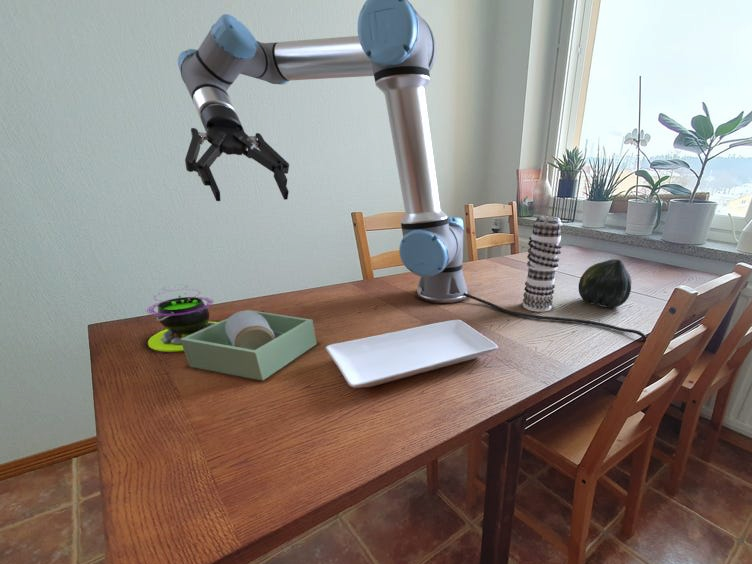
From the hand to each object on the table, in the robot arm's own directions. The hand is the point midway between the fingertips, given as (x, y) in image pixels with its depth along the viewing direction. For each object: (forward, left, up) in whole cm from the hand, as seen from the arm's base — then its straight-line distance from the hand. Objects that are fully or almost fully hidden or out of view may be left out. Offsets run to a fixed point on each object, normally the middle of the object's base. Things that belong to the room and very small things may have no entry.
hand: (254, 196), depth 82 cm
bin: (-11, +20, -28) cm, 36 cm away
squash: (-82, -40, -28) cm, 96 cm away
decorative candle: (-63, -30, -28) cm, 75 cm away
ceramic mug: (-12, +19, -27) cm, 35 cm away
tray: (-42, +12, -28) cm, 52 cm away
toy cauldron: (+8, +18, -28) cm, 34 cm away
